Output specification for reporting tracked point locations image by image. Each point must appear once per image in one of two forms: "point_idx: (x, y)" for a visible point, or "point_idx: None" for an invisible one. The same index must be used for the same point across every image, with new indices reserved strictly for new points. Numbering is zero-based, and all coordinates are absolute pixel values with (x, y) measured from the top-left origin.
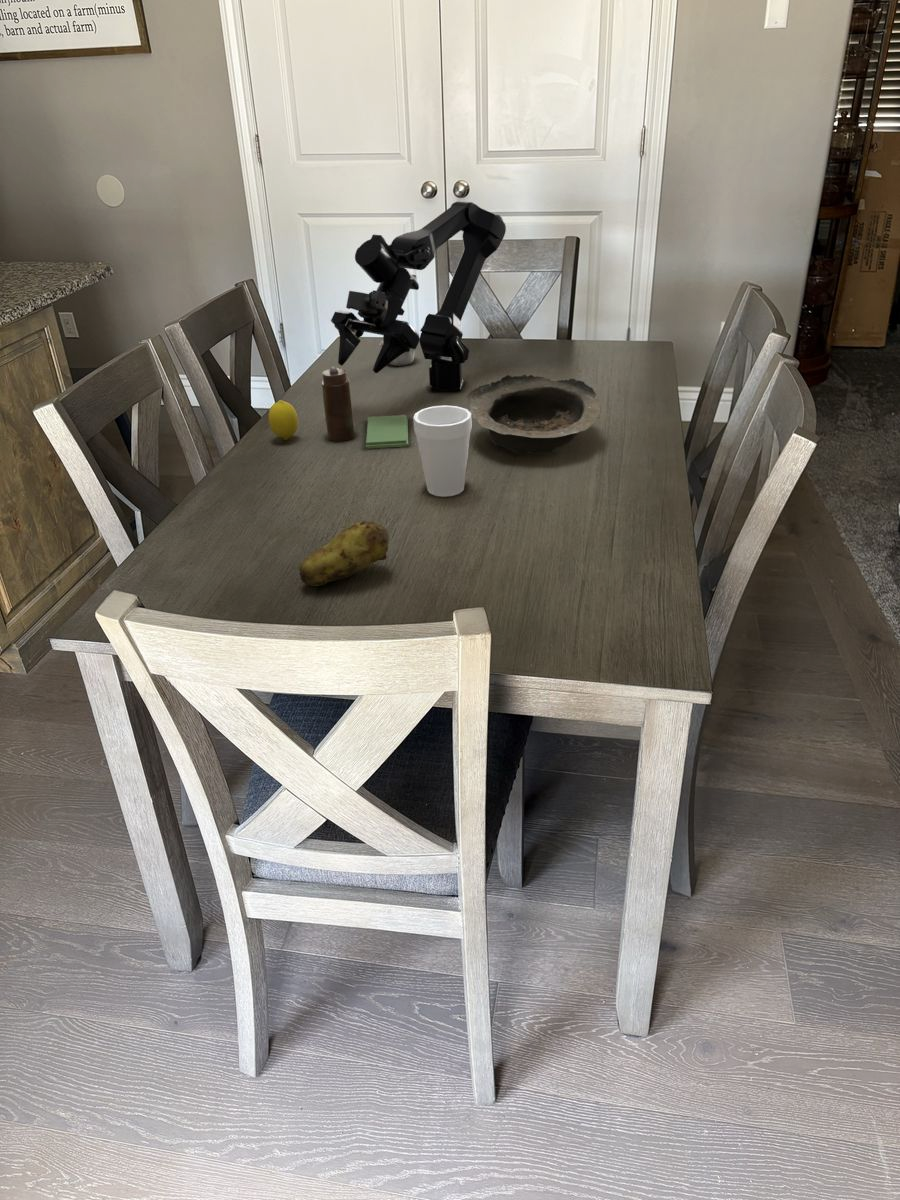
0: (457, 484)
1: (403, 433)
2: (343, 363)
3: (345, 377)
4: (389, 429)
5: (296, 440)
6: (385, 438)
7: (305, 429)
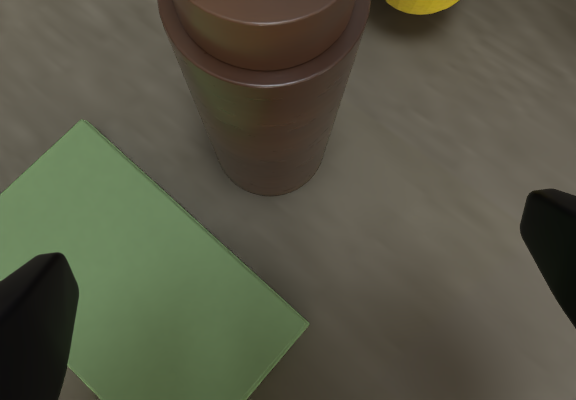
0: None
1: None
2: (533, 249)
3: (175, 4)
4: (101, 280)
5: (373, 18)
6: (42, 198)
7: (444, 102)
